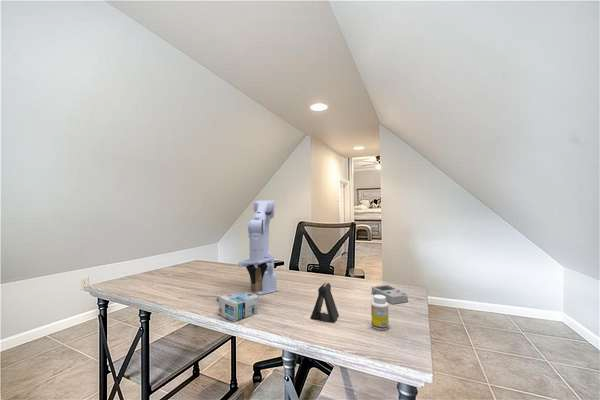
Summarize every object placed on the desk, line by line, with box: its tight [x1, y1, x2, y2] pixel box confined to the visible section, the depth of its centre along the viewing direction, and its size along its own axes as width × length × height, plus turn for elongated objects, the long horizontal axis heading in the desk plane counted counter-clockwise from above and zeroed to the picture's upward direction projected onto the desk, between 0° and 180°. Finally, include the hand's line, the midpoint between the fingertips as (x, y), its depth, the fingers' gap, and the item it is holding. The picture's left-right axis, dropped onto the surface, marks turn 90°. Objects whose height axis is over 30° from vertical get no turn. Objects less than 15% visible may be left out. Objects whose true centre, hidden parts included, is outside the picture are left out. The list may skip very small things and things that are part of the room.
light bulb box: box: [218, 290, 259, 322], centre depth 101 cm, size 11×7×11 cm
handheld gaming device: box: [371, 284, 409, 305], centre depth 118 cm, size 9×15×4 cm, turn 19°
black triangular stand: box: [310, 282, 339, 324], centre depth 97 cm, size 9×6×12 cm, turn 67°
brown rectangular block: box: [249, 268, 263, 293], centre depth 108 cm, size 2×6×9 cm, turn 32°
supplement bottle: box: [370, 294, 390, 331], centre depth 89 cm, size 6×6×10 cm
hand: (256, 282), depth 107 cm, fingers closed on brown rectangular block, 2 cm apart
